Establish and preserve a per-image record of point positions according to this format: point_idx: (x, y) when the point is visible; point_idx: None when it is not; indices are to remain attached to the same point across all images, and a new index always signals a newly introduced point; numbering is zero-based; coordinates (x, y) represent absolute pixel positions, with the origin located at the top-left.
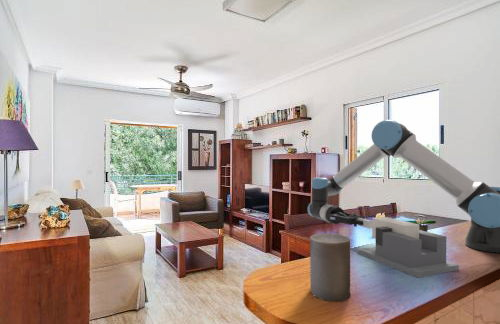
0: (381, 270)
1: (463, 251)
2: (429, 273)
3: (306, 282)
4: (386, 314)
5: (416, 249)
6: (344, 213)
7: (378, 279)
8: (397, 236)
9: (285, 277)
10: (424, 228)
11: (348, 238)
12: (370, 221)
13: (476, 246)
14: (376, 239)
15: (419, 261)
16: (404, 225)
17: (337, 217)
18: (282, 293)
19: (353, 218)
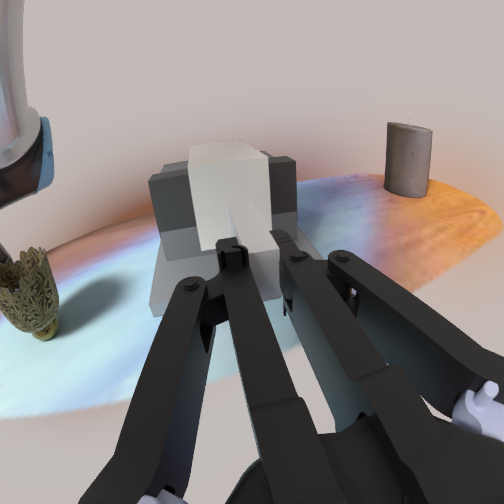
0: (317, 216)
1: None
2: None
3: (435, 202)
4: (355, 174)
5: None
6: (339, 494)
7: (337, 201)
8: (271, 156)
9: (464, 211)
10: (35, 252)
11: (388, 122)
12: (245, 202)
13: None
14: (295, 196)
15: None
16: (237, 140)
17: (455, 341)
18: (449, 194)
19: (313, 259)
